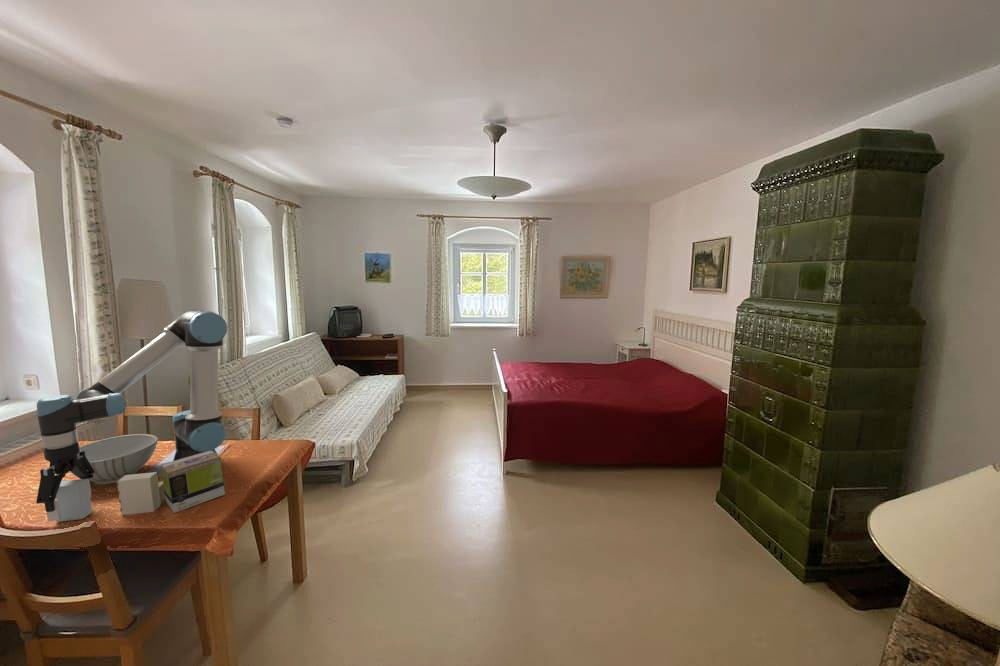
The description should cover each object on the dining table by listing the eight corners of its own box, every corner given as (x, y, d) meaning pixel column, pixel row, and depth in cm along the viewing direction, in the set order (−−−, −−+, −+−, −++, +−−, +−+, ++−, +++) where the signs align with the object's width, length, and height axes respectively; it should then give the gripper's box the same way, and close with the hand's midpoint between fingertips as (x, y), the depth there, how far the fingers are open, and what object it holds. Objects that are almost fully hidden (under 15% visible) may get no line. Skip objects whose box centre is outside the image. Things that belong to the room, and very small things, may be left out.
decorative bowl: (103, 498, 140) (98, 466, 139) (45, 490, 146) (40, 459, 144) (177, 464, 166) (174, 436, 165) (127, 458, 172) (123, 431, 170)
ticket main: (139, 500, 139) (134, 467, 138) (169, 497, 141) (165, 464, 140) (121, 515, 130) (116, 480, 129) (153, 511, 133) (149, 477, 131)
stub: (66, 514, 130) (61, 481, 129) (92, 511, 132) (87, 478, 130) (56, 521, 127) (50, 487, 125) (83, 518, 128) (77, 484, 127)
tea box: (216, 486, 149) (212, 448, 147) (225, 495, 143) (221, 456, 141) (165, 503, 137) (160, 463, 135) (172, 514, 131) (167, 472, 129)
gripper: (76, 431, 136) (85, 490, 139) (9, 463, 113) (22, 533, 116) (103, 429, 138) (111, 487, 141) (42, 460, 115) (53, 529, 118)
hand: (71, 508), depth 129 cm, fingers open, 12 cm apart
